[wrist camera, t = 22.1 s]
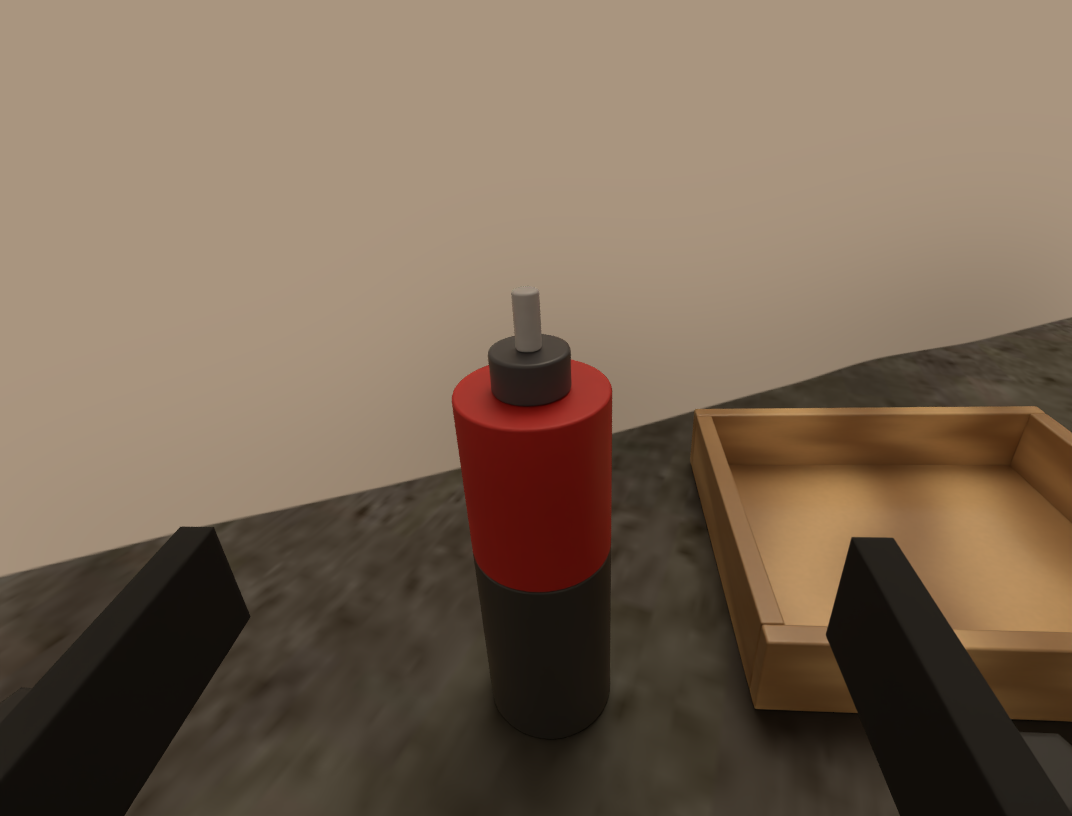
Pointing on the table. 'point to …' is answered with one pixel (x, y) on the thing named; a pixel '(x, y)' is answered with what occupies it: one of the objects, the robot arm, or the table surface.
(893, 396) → the table surface
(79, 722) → the robot arm
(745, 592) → the storage box
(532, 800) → the table surface
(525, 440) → the red squeeze bottle
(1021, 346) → the table surface
